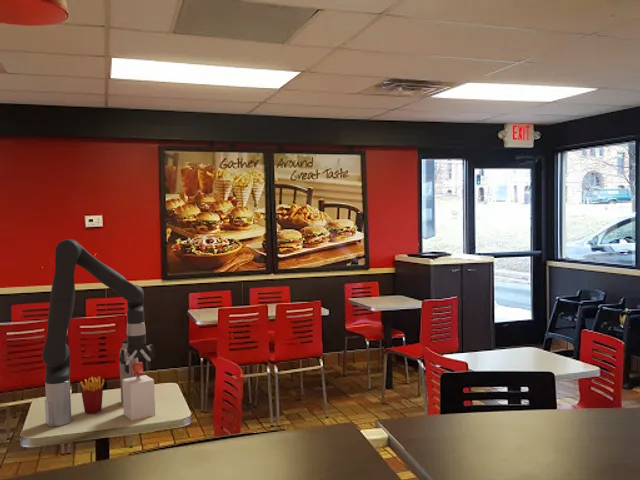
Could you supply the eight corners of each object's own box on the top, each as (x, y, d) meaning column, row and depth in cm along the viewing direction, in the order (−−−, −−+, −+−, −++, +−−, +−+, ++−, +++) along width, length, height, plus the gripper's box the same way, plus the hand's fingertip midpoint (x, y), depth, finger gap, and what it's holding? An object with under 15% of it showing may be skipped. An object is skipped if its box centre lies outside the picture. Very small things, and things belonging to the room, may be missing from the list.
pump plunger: (135, 412, 250) (134, 365, 249) (132, 410, 254) (130, 363, 253) (146, 410, 253) (144, 363, 252) (142, 407, 256) (140, 361, 255)
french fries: (95, 414, 254) (94, 379, 254) (78, 414, 256) (76, 379, 255) (107, 408, 263) (105, 374, 262) (90, 407, 265) (88, 373, 264)
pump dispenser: (131, 420, 246) (130, 384, 245) (123, 414, 254) (122, 379, 253) (155, 415, 252) (154, 379, 251) (146, 409, 260) (145, 374, 259)
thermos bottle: (143, 400, 272) (141, 339, 270) (128, 405, 265) (125, 342, 264) (132, 397, 277) (130, 337, 275) (117, 402, 270) (115, 340, 269)
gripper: (122, 337, 244) (123, 376, 245) (156, 332, 253) (157, 370, 253) (116, 334, 250) (117, 372, 251) (149, 329, 259) (151, 366, 259)
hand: (137, 371), depth 252 cm, fingers open, 8 cm apart
